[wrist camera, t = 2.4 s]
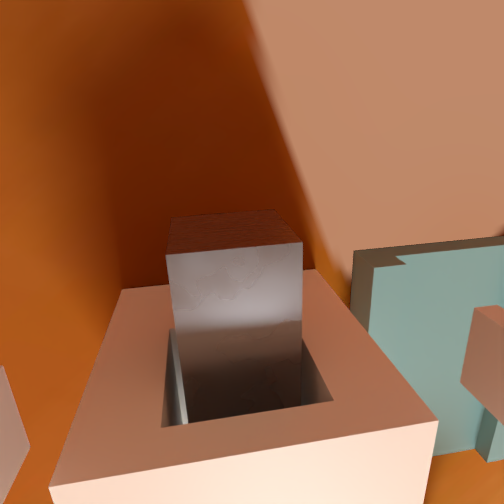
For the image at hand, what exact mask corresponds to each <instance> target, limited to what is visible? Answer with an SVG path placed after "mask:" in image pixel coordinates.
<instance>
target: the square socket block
mask: <svg viewBox="0 0 504 504" xmlns="http://www.w3.org/2000/svg"><path fill="white" fill-rule="evenodd" d="M438 423H439V420H438V419H437V417H436V416H435V415H434V414H433V412H432V411H431V410H430V409H429V408H428V406H427V405H426V404H425V403H424V401H423V400H422V399H421V398H420V397H419V395H418V394H417V393H416V392H415V390H414V389H413V388H412V387H411V385H410V384H409V383H408V382H407V381H406V379H405V378H404V377H403V376H402V374H401V373H400V372H399V371H398V369H397V368H396V367H395V366H394V365H393V363H392V362H391V361H390V360H389V358H388V357H387V356H386V355H385V353H384V352H383V351H382V350H381V349H380V347H379V346H378V345H377V344H376V342H375V341H374V340H373V339H372V337H371V336H370V335H369V334H368V333H367V331H366V330H365V329H364V328H363V326H362V325H361V324H360V323H359V321H358V320H357V319H356V318H355V317H354V315H353V314H352V313H351V312H350V310H349V309H348V308H347V307H346V305H345V304H344V303H343V302H342V301H341V299H340V298H339V297H338V296H337V294H336V293H335V292H334V291H333V290H332V288H331V287H330V286H329V285H328V283H327V282H326V281H325V280H324V278H323V277H322V276H321V275H320V274H319V272H318V271H317V270H316V269H311V270H303V283H302V369H301V406H297V407H291V408H285V409H278V410H272V411H266V412H259V413H253V414H246V415H240V416H234V417H227V418H221V419H215V420H208V421H202V422H195V423H189V424H188V418H187V410H186V403H185V396H184V388H183V381H182V373H181V366H180V359H179V351H178V344H177V336H176V329H175V322H174V314H173V307H172V299H171V292H170V285H169V284H168V285H158V286H149V287H139V288H130V289H122V291H121V294H120V297H119V299H118V302H117V305H116V307H115V310H114V313H113V315H112V318H111V321H110V323H109V326H108V329H107V331H106V334H105V337H104V339H103V342H102V345H101V348H100V350H99V353H98V356H97V358H96V361H95V364H94V366H93V369H92V372H91V374H90V377H89V380H88V382H87V385H86V388H85V390H84V393H83V396H82V398H81V401H80V404H79V407H78V409H77V412H76V415H75V417H74V420H73V423H72V425H71V428H70V431H69V433H68V436H67V439H66V441H65V444H64V447H63V449H62V452H61V455H60V457H59V460H58V463H57V466H56V468H55V471H54V474H53V476H52V479H51V482H50V484H49V487H48V488H49V491H50V494H51V496H52V499H53V502H54V504H423V501H424V496H425V491H426V486H427V480H428V475H429V470H430V465H431V459H432V454H433V449H434V444H435V438H436V433H437V428H438Z"/></svg>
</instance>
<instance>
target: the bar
mask: <svg viewBox="0 0 504 504" xmlns="http://www.w3.org/2000/svg"><path fill="white" fill-rule="evenodd" d="M166 262H167V270H168V277H169V285H170V292H171V299H172V307H173V314H174V322H175V329H176V336H177V344H178V351H179V359H180V366H181V373H182V381H183V388H184V396H185V403H186V410H187V418H188V424H189V423H195V422H202V421H208V420H215V419H221V418H227V417H234V416H240V415H246V414H253V413H259V412H266V411H272V410H278V409H285V408H291V407H297V406H301V369H302V283H303V242H302V240H301V239H300V238H299V237H298V236H297V235H296V234H295V233H294V231H293V230H292V229H291V228H290V227H289V226H288V225H287V223H286V222H285V221H284V220H283V219H282V218H281V217H280V216H279V214H278V213H277V212H276V211H275V210H274V209H269V210H257V211H244V212H232V213H220V214H207V215H195V216H182V217H171V224H170V230H169V236H168V243H167V249H166Z"/></svg>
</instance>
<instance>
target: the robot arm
mask: <svg viewBox="0 0 504 504" xmlns="http://www.w3.org/2000/svg"><path fill="white" fill-rule="evenodd" d="M460 383H461V384H462V385H463V386H464V387H465V388H466V389H467V390H468V391H469V392H470V393H471V394H472V395H473V396H474V397H475V398H476V399H477V400H478V401H479V402H480V403H481V404H482V405H483V406H484V407H485V408H486V409H487V410H488V411H489V412H490V413H491V414H492V415H493V416H494V417H495V418H496V419H497V420H498V421H499V422H500V423H501V424H502V425H503V426H504V309H503V308H502V307H500V306H498V305H491V306H483V307H475V308H474V311H473V316H472V321H471V326H470V332H469V337H468V342H467V347H466V352H465V358H464V363H463V368H462V373H461V378H460ZM29 449H30V444H29V441H28V438H27V435H26V432H25V429H24V426H23V423H22V420H21V417H20V414H19V411H18V409H17V406H16V403H15V400H14V397H13V394H12V391H11V388H10V385H9V382H8V379H7V376H6V373H5V370H4V367H3V365H2V366H0V504H3V502H4V500H5V498H6V496H7V494H8V492H9V490H10V488H11V486H12V484H13V482H14V480H15V478H16V476H17V474H18V471H19V469H20V467H21V465H22V463H23V461H24V459H25V457H26V455H27V453H28V451H29Z"/></svg>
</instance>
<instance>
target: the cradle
mask: <svg viewBox="0 0 504 504" xmlns="http://www.w3.org/2000/svg"><path fill="white" fill-rule="evenodd" d="M491 305H498V306H500V307H502V308H503V309H504V236H497V237H487V238H477V239H468V240H457V241H447V242H437V243H427V244H416V245H406V246H397V247H386V248H378V249H377V248H376V249H366V250H356V251H354V254H353V269H352V285H351V300H350V312H351V313H352V314H353V315H354V317H355V318H356V319H357V320H358V321H359V323H360V324H361V325H362V326H363V328H364V329H365V330H366V331H367V333H368V334H369V335H370V336H371V337H372V339H373V340H374V341H375V342H376V344H377V345H378V346H379V347H380V349H381V350H382V351H383V352H384V353H385V355H386V356H387V357H388V358H389V360H390V361H391V362H392V363H393V365H394V366H395V367H396V368H397V369H398V371H399V372H400V373H401V374H402V376H403V377H404V378H405V379H406V381H407V382H408V383H409V384H410V385H411V387H412V388H413V389H414V390H415V392H416V393H417V394H418V395H419V397H420V398H421V399H422V400H423V401H424V403H425V404H426V405H427V406H428V408H429V409H430V410H431V411H432V412H433V414H434V415H435V416H436V417H437V419H438V420H439V423H438V428H437V433H436V438H435V444H434V449H433V454H432V456H438V455H443V454H449V453H454V452H459V451H465V450H470V449H476V451H477V452H478V453H479V454H480V455H481V456H482V458H483V459H484V460H485V461H486V462H492V461H498V460H503V459H504V426H503V425H502V424H501V423H500V422H499V421H498V420H497V419H496V418H495V417H494V416H493V415H492V414H491V413H490V412H489V411H488V410H487V409H486V408H485V407H484V406H483V405H482V404H481V403H480V402H479V401H478V400H477V399H476V398H475V397H474V396H473V395H472V394H471V393H470V392H469V391H468V390H467V389H466V388H465V387H464V386H463V385H462V384H461V383H460V378H461V373H462V368H463V363H464V358H465V352H466V347H467V342H468V337H469V332H470V326H471V321H472V316H473V311H474V308H475V307H483V306H491Z"/></svg>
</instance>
